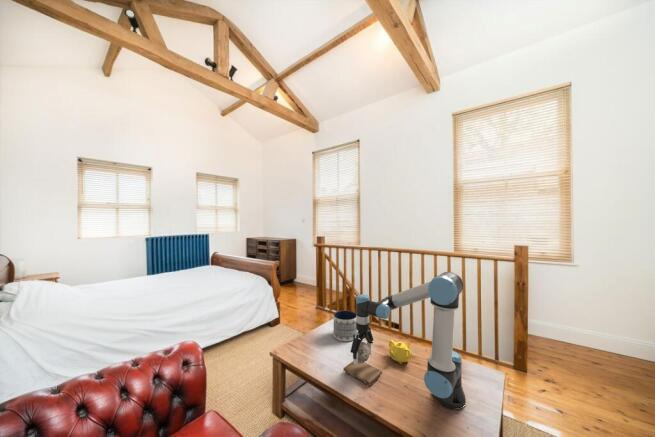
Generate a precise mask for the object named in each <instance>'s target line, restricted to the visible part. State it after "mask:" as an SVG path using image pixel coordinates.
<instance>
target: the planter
mask: <svg viewBox="0 0 655 437" xmlns="http://www.w3.org/2000/svg"><path fill="white" fill-rule="evenodd" d="M357 332H358V330H357V329H356V312H354V311H351V310H338V311H335V312H334V313H333V337H334V339H336V340H338V341H340V342H347V343H348V342H353V339H354V334H357Z"/></svg>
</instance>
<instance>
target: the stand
mask: <svg viewBox="0 0 655 437" xmlns="http://www.w3.org/2000/svg"><path fill="white" fill-rule="evenodd" d="M343 371H344V374H345V375H347V376H350V375H352V376H353V377H354V378H357V379H359V380H360V381H363V382H364V385H365V386H366V387H370V386H372V385H373V384H374V382H376V381H377V380H378V379H379V378H380V377H381V375H382V374H383V370H381V369H379V368H376V367H375V366H373V365H370V364H369V363H366V361H365V362H364V363H359V362H358V365H356V364H354V363H353V361H351V362H349V363H348V364H347V365H346V366H345V367H343Z"/></svg>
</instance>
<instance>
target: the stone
mask: <svg viewBox="0 0 655 437" xmlns="http://www.w3.org/2000/svg"><path fill="white" fill-rule="evenodd" d="M357 353H358V362H359V363H364V362H365V363H366V362H367V361H368V360H369V358H370V355H369V353H370V348H369V346H368V345H367V342H365V341H362V342H361V343H360V346H359V349H358V351H357Z"/></svg>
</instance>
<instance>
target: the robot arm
mask: <svg viewBox="0 0 655 437" xmlns="http://www.w3.org/2000/svg"><path fill="white" fill-rule="evenodd" d="M463 290H464V281H463V279H462V277H461V276H460V275H459V274H457V273H455V272H453V271H445V272H443V273H440V274H439V275H436V276H434V277H433V278H432V279H431V280H430V281H428V282H425V283H422V284H419V285H416V286H414V287H411V288H408V289H406V290H403V291H400V292H398V293H395V294H392V295H388V296H385V297H384V298H382V299H381V300H378V301H373V300H371V299H370V296H369V295H368V294H364V293H363V294H362V293H361V294H358V295H357V296H356V300H355V301H356V302H355V306H356V308H355V311H356V312H355V313H356V329H357V334H354V339H353V341H352V343H351V347H350V353H351V354H352V358H353V359H352V362H353V363H354V364H356V365H358V353H357V351H358V349H359V346H360V343H361V342H363V340H364V339H365V340H366V341H367V342H366V344H367V345H368V346H369V348H370V353H369V356H371V355H372V344H374V342H373V341H374V337H373V334H372V329H371V328H372V327H370V316H373V317H376V318H378V319H384V320H387V319H388V318H389V317H390V314H391V311H393V310H396V309H398V308H402V307H406V306H407V305H411V304H414V303H417V302H421V301H426V300H427V299H430V300H429V302H430V304H431V305H432V306H433V317H432V335H431V336H432V337H431V338H432V339H431V355H429V356H428V357H427V366H426V368H427V369H426V372H425V373H424V375H423V376H424V377H423V381H424V385H425V387H426V389H427V390H428V391H429V392H430V393H431V394H432V397H433V399H434V400H435V401H436V402H437V403H439V404H440V405H442V406H444V407H446V408H449V409H452V408H460V409H462V408H461V407H463V406H464V405H465V406H466V404H465V403H466V402H467V400H466V399H467V398H466V394H465V392H464V389H463V385H462V382H463V380H462V379H463V376H462V372H463V371H462V370H463V369H462V366H463V364H462V363H463V361H462V356H461V354H460V353H457V352H456V351H455V350H454V349H453V347H454V345H453V344H454V328H455V327H454V324H455V311H457V310H458V309H459V304H460V303H459V301H460V294H461V293H462V292H463ZM465 406H464V407H465ZM464 407H463V408H464Z"/></svg>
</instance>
